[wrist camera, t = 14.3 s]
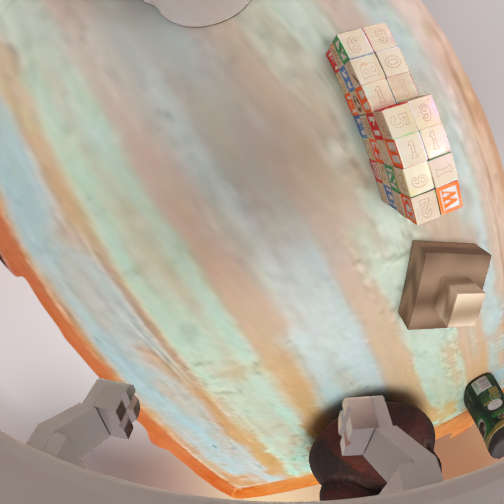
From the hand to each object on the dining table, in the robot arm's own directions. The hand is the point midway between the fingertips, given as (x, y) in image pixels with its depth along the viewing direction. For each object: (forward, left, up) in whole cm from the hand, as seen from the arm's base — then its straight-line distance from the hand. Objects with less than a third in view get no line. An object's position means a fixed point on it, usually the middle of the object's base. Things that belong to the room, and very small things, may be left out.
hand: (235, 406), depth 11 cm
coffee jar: (+37, +48, -34) cm, 69 cm away
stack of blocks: (-12, +14, -34) cm, 39 cm away
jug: (+44, +22, -34) cm, 60 cm away
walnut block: (+10, +27, -33) cm, 44 cm away
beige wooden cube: (+10, +27, -28) cm, 41 cm away
